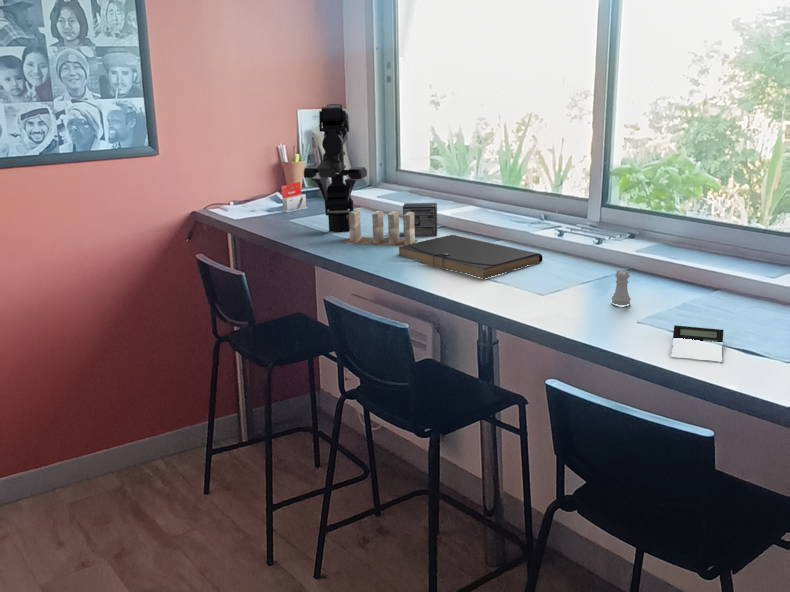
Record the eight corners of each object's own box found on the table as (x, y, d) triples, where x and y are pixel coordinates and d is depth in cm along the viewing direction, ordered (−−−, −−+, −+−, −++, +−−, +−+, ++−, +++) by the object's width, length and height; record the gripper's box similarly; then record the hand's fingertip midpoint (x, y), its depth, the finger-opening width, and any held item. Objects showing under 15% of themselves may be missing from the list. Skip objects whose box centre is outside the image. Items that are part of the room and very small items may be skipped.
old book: (397, 245, 232) (456, 232, 247) (397, 259, 233) (456, 245, 248) (483, 267, 208) (542, 251, 223) (483, 282, 209) (542, 265, 225)
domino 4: (404, 244, 245) (403, 215, 242) (409, 240, 249) (408, 211, 246) (410, 244, 244) (409, 215, 241) (414, 241, 248) (414, 212, 246)
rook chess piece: (627, 308, 185) (629, 275, 182) (608, 306, 187) (610, 272, 185) (633, 303, 188) (635, 270, 186) (614, 300, 191) (616, 267, 188)
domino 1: (361, 238, 254) (360, 209, 251) (355, 241, 249) (354, 212, 247) (355, 237, 254) (354, 209, 251) (350, 241, 250) (349, 212, 247)
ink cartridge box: (306, 207, 308) (305, 181, 305) (287, 213, 299) (285, 186, 296) (301, 207, 309) (300, 181, 306) (282, 212, 300) (280, 186, 297)
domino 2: (373, 242, 248) (372, 213, 245) (378, 239, 252) (377, 210, 249) (378, 243, 247) (377, 214, 244) (383, 239, 251) (383, 210, 249)
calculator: (670, 358, 157) (671, 344, 156) (673, 338, 167) (674, 324, 166) (722, 364, 154) (723, 349, 153) (722, 343, 164) (723, 329, 163)
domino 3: (388, 243, 246) (387, 214, 243) (393, 239, 250) (392, 211, 248) (394, 244, 246) (393, 214, 243) (399, 240, 250) (398, 211, 247)
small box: (438, 234, 260) (437, 202, 256) (437, 239, 253) (436, 206, 250) (405, 234, 261) (404, 202, 258) (403, 239, 254) (402, 206, 251)
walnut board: (342, 245, 249) (341, 242, 249) (351, 239, 257) (351, 236, 256) (410, 248, 243) (410, 246, 242) (418, 242, 250) (418, 239, 250)
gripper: (294, 152, 241) (297, 204, 245) (353, 153, 235) (356, 206, 240) (309, 147, 251) (312, 197, 255) (366, 148, 245) (368, 199, 250)
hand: (336, 200), depth 250 cm, fingers open, 7 cm apart
